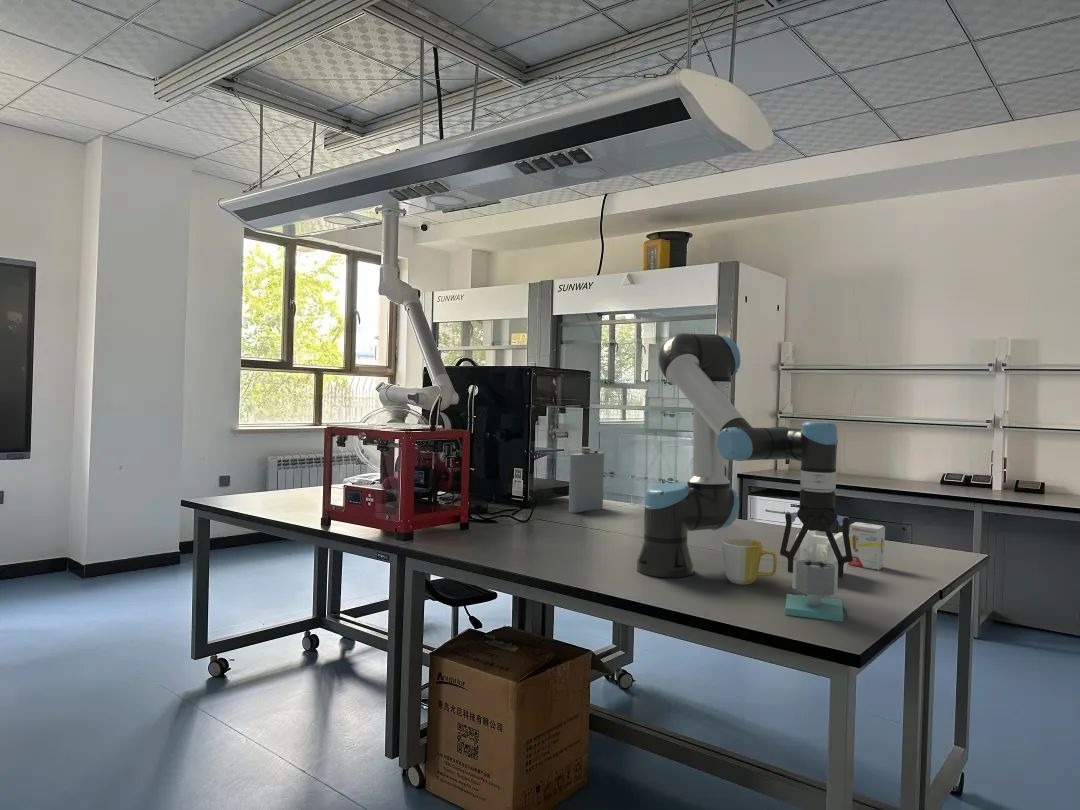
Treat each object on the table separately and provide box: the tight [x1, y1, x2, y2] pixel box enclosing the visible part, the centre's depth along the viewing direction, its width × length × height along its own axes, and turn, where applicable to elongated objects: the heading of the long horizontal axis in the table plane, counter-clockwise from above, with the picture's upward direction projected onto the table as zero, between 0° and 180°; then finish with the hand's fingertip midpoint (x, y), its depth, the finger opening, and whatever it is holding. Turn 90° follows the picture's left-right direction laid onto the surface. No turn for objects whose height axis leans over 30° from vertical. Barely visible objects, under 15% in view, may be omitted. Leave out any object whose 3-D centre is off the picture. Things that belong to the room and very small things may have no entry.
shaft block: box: [784, 565, 844, 623], centre depth 169 cm, size 12×12×10 cm
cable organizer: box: [794, 530, 848, 575], centre depth 200 cm, size 15×11×12 cm
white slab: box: [568, 446, 605, 514], centre depth 295 cm, size 17×5×25 cm, turn 132°
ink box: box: [847, 521, 886, 570], centre depth 212 cm, size 9×5×12 cm, turn 49°
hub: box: [795, 560, 835, 597], centre depth 169 cm, size 8×8×6 cm
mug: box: [721, 537, 778, 585], centre depth 191 cm, size 14×10×10 cm
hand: (814, 589), depth 169 cm, fingers closed on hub, 8 cm apart
